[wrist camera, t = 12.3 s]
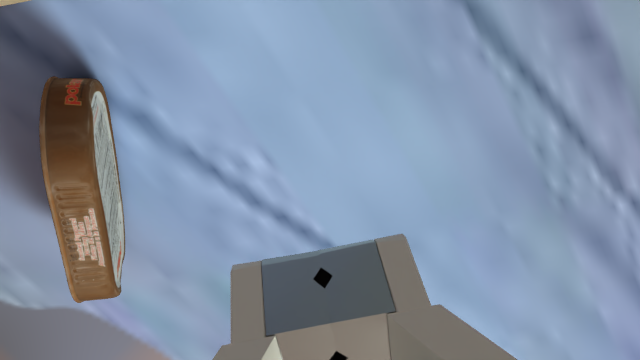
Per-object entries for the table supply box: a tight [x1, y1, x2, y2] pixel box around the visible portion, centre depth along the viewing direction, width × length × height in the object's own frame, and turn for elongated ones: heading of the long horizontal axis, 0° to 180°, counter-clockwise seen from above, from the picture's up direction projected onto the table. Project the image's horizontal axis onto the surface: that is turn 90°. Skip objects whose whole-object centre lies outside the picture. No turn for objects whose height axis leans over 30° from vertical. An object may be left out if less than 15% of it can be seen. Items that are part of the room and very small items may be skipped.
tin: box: [39, 76, 125, 303], centre depth 35 cm, size 15×3×8 cm, turn 173°
